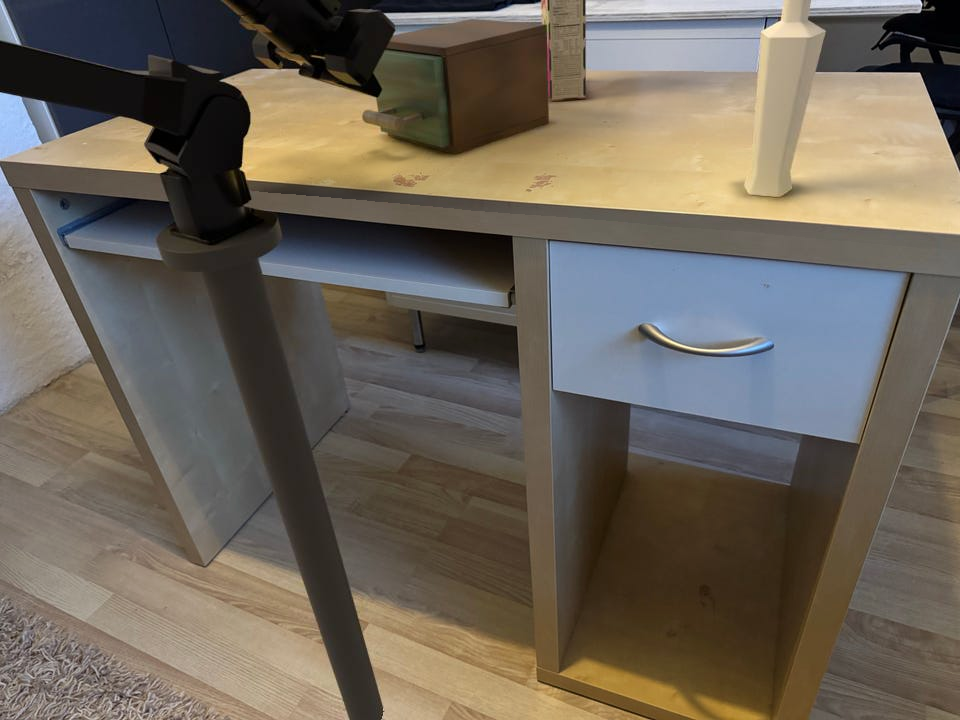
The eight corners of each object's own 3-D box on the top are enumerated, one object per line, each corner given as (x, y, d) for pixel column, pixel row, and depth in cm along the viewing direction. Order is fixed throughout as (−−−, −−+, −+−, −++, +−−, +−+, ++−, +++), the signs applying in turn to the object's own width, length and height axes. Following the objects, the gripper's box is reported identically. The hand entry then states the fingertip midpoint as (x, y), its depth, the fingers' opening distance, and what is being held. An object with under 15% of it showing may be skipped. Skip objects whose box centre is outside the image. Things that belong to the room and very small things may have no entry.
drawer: (413, 157, 71) (401, 66, 66) (353, 139, 78) (338, 56, 73) (531, 118, 80) (528, 36, 75) (467, 106, 87) (461, 30, 82)
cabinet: (455, 154, 73) (445, 47, 68) (387, 136, 82) (373, 39, 76) (549, 122, 81) (547, 24, 75) (478, 108, 89) (471, 18, 83)
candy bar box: (541, 84, 98) (538, -49, 89) (576, 81, 98) (576, -52, 89) (548, 102, 89) (545, -43, 80) (586, 99, 89) (588, -47, 80)
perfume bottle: (752, 176, 61) (780, -13, 53) (801, 185, 59) (838, -13, 50) (727, 191, 59) (752, -5, 50) (778, 201, 56) (813, -4, 48)
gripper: (359, -102, 54) (473, 30, 66) (251, -89, 66) (365, 21, 78) (292, 23, 54) (418, 133, 66) (197, 13, 66) (318, 107, 78)
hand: (378, 93), depth 72 cm, fingers closed
